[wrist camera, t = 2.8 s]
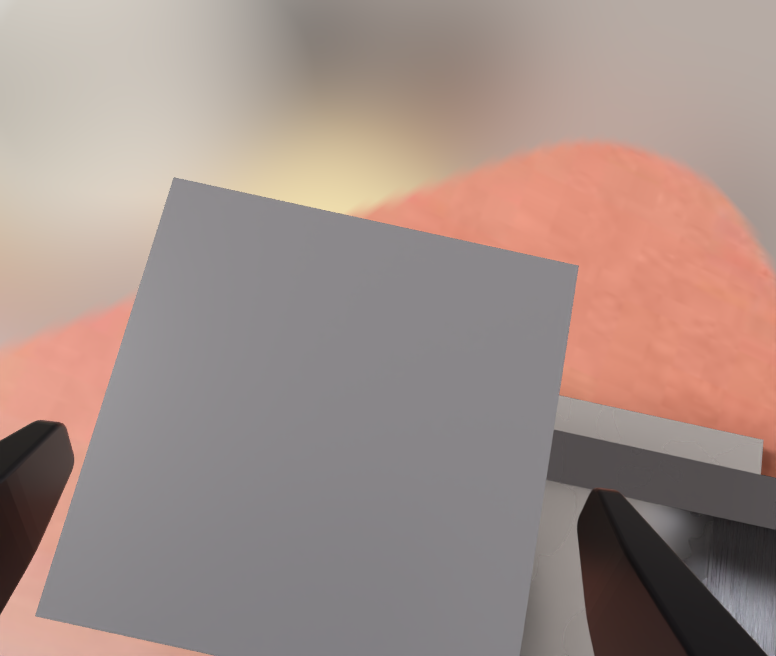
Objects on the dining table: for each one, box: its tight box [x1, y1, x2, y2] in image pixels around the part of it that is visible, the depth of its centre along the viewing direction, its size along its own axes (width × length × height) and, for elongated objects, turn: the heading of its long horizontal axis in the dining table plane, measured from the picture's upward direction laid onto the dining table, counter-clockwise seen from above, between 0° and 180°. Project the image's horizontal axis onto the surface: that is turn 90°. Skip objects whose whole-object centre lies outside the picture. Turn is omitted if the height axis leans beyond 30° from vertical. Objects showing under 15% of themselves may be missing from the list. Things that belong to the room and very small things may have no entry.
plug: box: [35, 178, 579, 656], centre depth 12 cm, size 4×4×12 cm
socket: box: [520, 395, 776, 656], centre depth 15 cm, size 11×9×4 cm
